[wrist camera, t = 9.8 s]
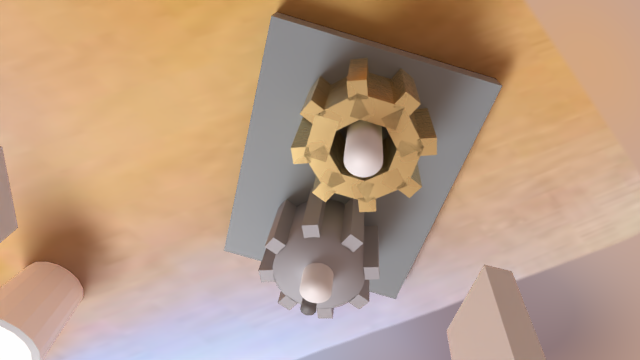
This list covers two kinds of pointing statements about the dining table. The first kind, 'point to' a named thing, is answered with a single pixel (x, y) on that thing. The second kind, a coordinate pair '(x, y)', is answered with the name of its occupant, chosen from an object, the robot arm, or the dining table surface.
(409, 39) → the dining table surface
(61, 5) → the dining table surface
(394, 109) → the brass gear
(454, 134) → the gear board
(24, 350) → the beige cup
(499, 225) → the dining table surface
